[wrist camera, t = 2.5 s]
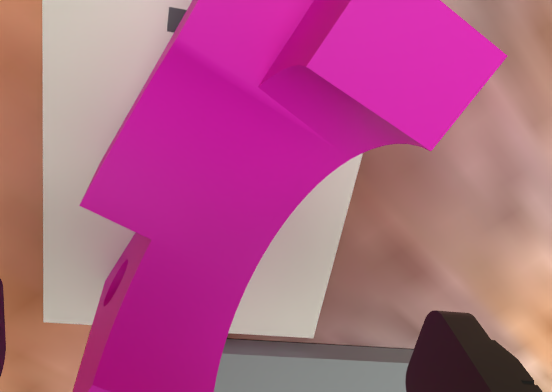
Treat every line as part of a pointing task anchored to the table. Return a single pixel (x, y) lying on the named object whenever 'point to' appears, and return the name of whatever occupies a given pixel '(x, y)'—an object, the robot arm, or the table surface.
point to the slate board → (310, 367)
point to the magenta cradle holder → (253, 159)
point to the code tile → (95, 142)
